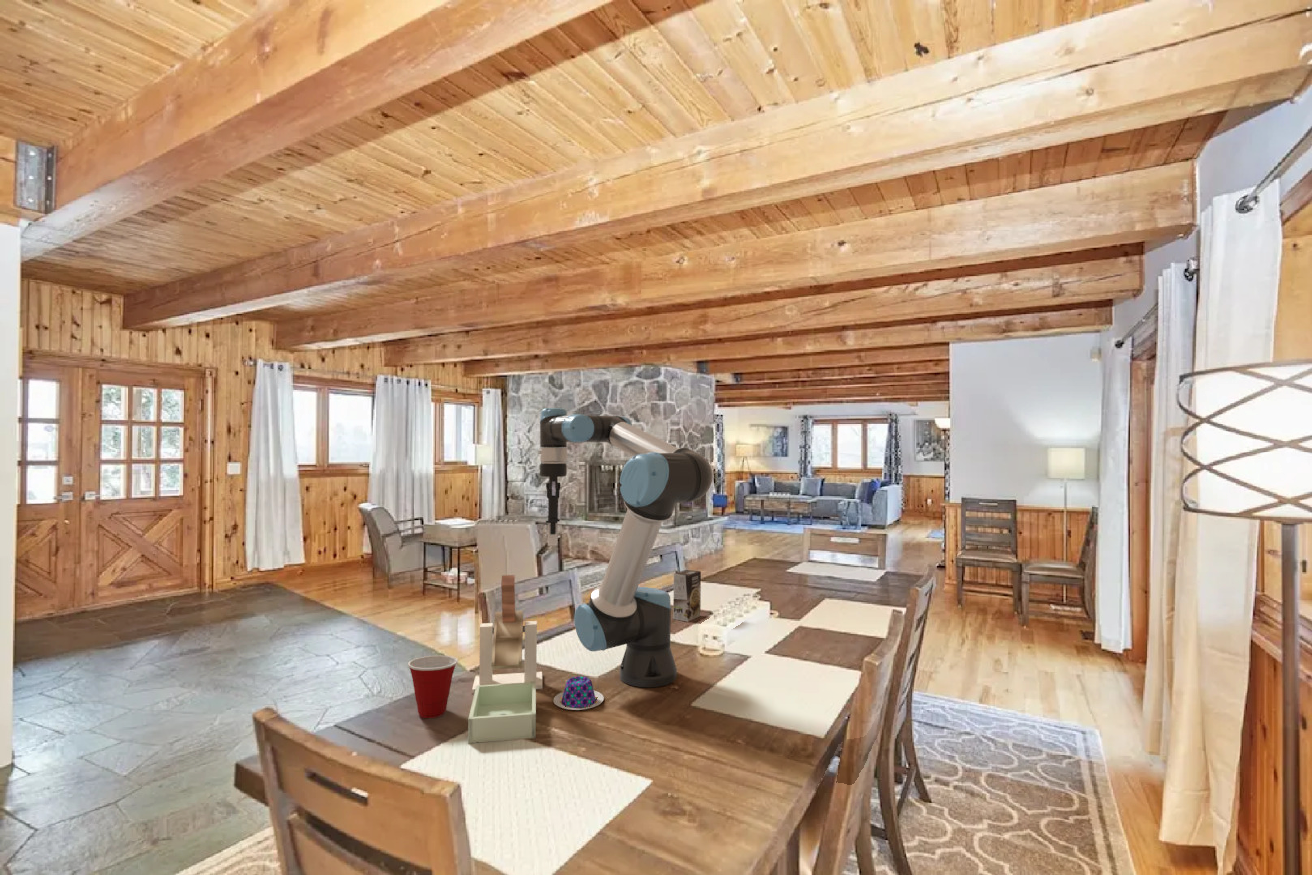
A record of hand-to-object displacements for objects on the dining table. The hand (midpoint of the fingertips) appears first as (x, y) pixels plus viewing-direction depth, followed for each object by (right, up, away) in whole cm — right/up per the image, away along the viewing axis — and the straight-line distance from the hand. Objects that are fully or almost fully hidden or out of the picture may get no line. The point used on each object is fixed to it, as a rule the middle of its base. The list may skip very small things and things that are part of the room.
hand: (552, 545), depth 177 cm
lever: (-7, -20, -23) cm, 31 cm away
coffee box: (+40, -33, +42) cm, 67 cm away
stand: (-8, -32, -19) cm, 38 cm away
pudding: (+11, -33, -28) cm, 45 cm away
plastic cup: (-22, -32, -35) cm, 52 cm away
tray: (-4, -32, -40) cm, 51 cm away
